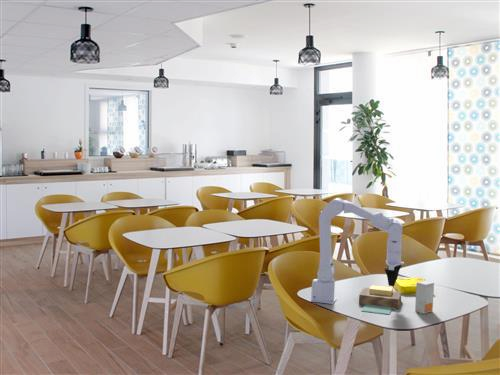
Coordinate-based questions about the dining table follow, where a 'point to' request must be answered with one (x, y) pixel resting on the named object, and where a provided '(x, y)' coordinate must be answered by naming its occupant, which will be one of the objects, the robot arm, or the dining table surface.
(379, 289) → the yellow block
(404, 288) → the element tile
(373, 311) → the mat
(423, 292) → the skincare box
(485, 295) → the dining table surface
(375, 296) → the plate
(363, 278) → the dining table surface
